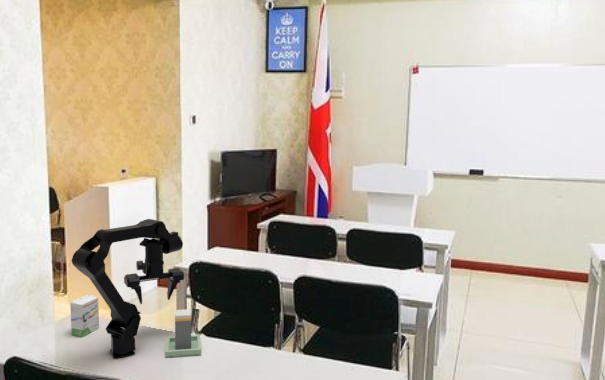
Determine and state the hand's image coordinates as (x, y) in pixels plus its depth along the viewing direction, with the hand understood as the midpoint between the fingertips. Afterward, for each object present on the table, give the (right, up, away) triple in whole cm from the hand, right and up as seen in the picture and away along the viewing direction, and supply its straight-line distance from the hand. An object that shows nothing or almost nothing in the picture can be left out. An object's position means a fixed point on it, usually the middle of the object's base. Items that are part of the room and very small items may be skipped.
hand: (154, 301), depth 172 cm
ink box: (-26, -12, +5) cm, 29 cm away
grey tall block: (+11, -14, -5) cm, 18 cm away
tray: (+11, -14, -5) cm, 19 cm away
